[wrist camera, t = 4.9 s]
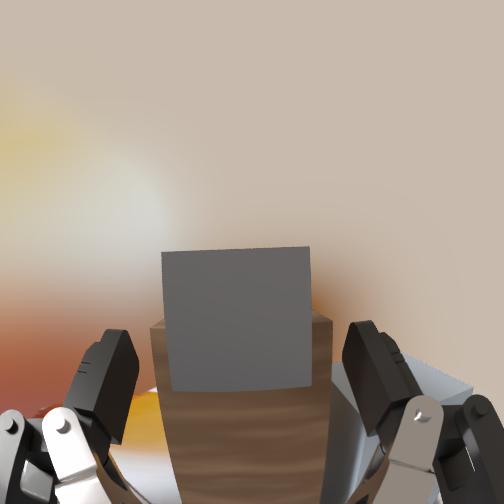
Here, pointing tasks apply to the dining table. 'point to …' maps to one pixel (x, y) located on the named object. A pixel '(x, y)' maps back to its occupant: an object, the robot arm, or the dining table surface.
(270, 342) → the bar
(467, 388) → the block
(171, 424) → the walnut stand
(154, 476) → the dining table surface
